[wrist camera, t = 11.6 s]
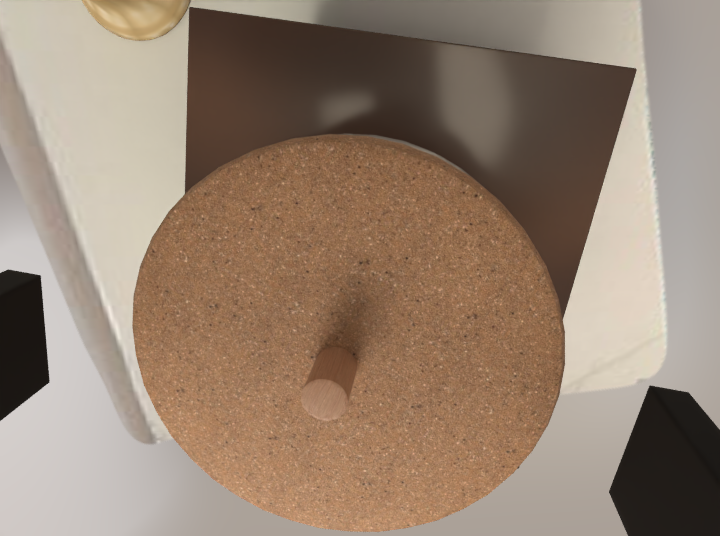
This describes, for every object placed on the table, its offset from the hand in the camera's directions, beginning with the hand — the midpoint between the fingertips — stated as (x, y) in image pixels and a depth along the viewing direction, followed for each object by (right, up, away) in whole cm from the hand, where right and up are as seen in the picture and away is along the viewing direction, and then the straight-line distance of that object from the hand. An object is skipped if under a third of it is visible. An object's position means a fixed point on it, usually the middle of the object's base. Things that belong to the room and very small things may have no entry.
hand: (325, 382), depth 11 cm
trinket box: (+1, +3, +9) cm, 9 cm away
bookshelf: (+3, +9, +26) cm, 27 cm away
